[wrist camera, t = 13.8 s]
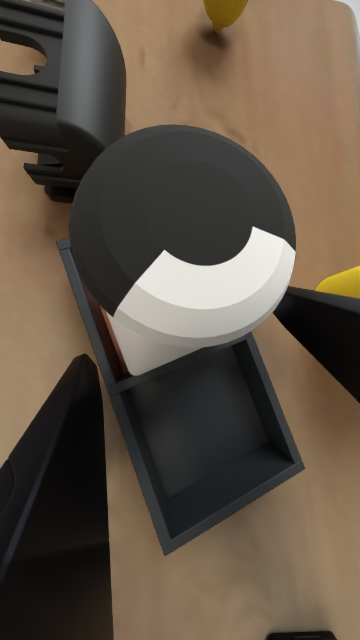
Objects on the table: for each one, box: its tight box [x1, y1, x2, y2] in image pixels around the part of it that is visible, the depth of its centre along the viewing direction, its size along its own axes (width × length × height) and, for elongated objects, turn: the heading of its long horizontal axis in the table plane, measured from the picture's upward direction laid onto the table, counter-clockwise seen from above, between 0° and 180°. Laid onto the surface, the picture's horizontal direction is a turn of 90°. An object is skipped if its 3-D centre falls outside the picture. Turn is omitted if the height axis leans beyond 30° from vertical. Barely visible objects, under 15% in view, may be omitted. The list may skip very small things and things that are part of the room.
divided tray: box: [56, 238, 305, 556], centre depth 14 cm, size 22×11×4 cm, turn 21°
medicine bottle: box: [69, 125, 296, 376], centre depth 10 cm, size 7×7×12 cm
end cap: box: [0, 0, 126, 202], centre depth 13 cm, size 10×7×7 cm
